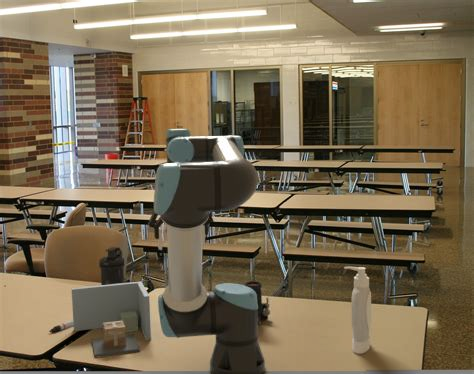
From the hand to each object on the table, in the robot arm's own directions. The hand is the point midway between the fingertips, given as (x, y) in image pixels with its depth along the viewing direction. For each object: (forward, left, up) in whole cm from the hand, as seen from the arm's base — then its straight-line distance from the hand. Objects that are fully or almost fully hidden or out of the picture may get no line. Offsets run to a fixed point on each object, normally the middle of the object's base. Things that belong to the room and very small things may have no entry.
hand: (181, 247), depth 195 cm
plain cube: (+12, +16, -29) cm, 35 cm away
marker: (+21, +35, -29) cm, 50 cm away
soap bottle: (-27, -47, -29) cm, 61 cm away
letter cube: (-2, +22, -28) cm, 35 cm away
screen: (+8, +21, -29) cm, 37 cm away
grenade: (+44, +17, -29) cm, 56 cm away
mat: (-2, +22, -29) cm, 36 cm away
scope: (+3, -25, -29) cm, 38 cm away
